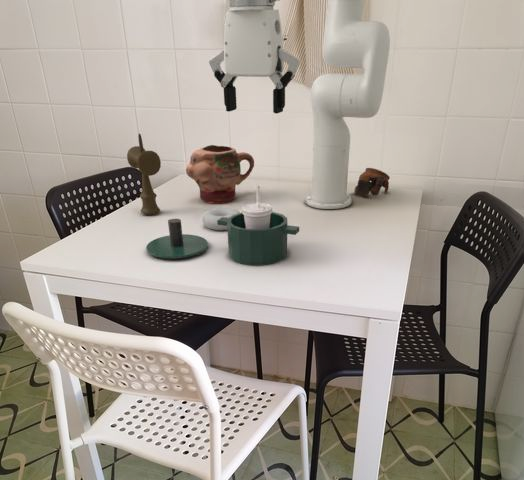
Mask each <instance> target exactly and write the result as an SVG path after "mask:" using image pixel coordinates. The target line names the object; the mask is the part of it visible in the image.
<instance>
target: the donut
mask: <svg viewBox="0 0 524 480" xmlns="http://www.w3.org/2000/svg"><path fill="white" fill-rule="evenodd" d="M239 213H241V211H240V210H237V209H236V208H232V207H216V208H211V209H209V210H207V211H206V212H204V214H203V216H202V219H201V220H202V223H203V225H204V227H206V228H207V229H210V230H214V231H227V226H223V225H217V220H219V219H220V218H222V217H225V218H230V217H231V216H233V215H236V214H239Z"/></svg>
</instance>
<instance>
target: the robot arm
mask: <svg viewBox="0 0 524 480" xmlns="http://www.w3.org/2000/svg"><path fill="white" fill-rule="evenodd" d="M277 1H279V2H280V1H281V0H228V3H229V10H226V14H225V22H224V31H223V34H224V35H223V50H222V51H220V52H219V53H218V54H216V55H214V56H213V57H212V58H211V59H210V60H208V63H209V66H210V69H211V70H212V72H213V76H214V77H215V79H216V80H217V81H218V83H219V84H220V87H221V88H223V102H224V104H223V105H224V106H225V111H226V112H233V111H236V110H237V107H238V106H237V88H236V85H234V83H235V81H236V80H237V79H238V77H245V78H246V77H251V78H255V77H258V78H259V77H260V78H264V77H269V79H270V80H271V82H272V83H273V84H274V86H275V88H274V89H273V90H272V112H273V113H274V114H280V113H282V112H283V111H284V108H285V107H286V88H287V87H288V85H289V84H290V83H291V81H292V80H293V79H294V78H295V76H296V75H295V74H296V72H297V71H298V68H299V66H300V64H301V63H300V61H301V60H300V59H298V58H297V57H296V56H294V55H292V54H290V52H288V51H287V50H284V40H283V32H282V31H283V30H282V23H281V16H280V11H279V9H274V8H275V5H276V2H277ZM326 2H327V3H326V15H325V22H324V32H323V40H322V60H323V62H324V63H325V65H326V66H328V67H331V68H339V69H340V68H341V69H364V70H363V71H364V73H341V72H340V73H337V72H336V73H335V72H333V73H331V72H330V73H325V74H321V75H319V76H318V77H317V78H316V79H315V80H314V81H313V83H312V86H311V89H310V102H311V108H312V119H313V141H312V143H313V145H312V174H311V194H310V195H307V196H306V197H305V203H306V205H307V206H309V207H312V208H315V209H320V210H321V209H322V210H339V209H343V208H347V207H349V206H350V205H351V204H352V201H353V200H352V199H353V198H352V197H350V195H348V194H347V191H348V178H349V177H348V176H349V163H350V149H351V148H350V147H351V132H350V128H349V126H348V125H347V122H346V121H345V119H344V118H357V119H358V118H359V119H360V118H361V119H370V118H373V117H374V116H376V115H377V114H378V112H379V110H380V108H381V105H382V99H383V94H384V88H385V80H386V74H387V68H388V63H389V62H388V61H389V57H390V56H389V54H390V45H391V38H390V37H391V36H390V31H389V28H388V26H387V25H386V24H385V23H384V22H382V21H378V20H363V13H364V4H365V0H327V1H326ZM222 62H223V63H224V70H225V72H224V71H223V70H222V66H221V64H222ZM285 63H286V64H287V65H288V67H287V70H286V72H285V73H284V74H283V71H284V67H285Z"/></svg>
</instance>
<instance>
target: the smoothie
mask: <svg viewBox="0 0 524 480" xmlns="http://www.w3.org/2000/svg"><path fill="white" fill-rule="evenodd" d="M255 188H256V202H253V203H248V204H245V205H243V206H242V207H241V213H242V214H243V215H244V220H245V226H246V229H266V228H269V226H270V217H271V213H272V212H274V211H273V206H272V205H271V204H269V203H263V202H260V186H259V185H258V186H256V187H255Z"/></svg>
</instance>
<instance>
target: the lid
mask: <svg viewBox="0 0 524 480" xmlns="http://www.w3.org/2000/svg"><path fill="white" fill-rule="evenodd" d="M167 226H168V234H169V235H163V236H161V237H157V238H155V239H152V240H151V241H149V242H148V243H147V245H146V246H145V249H146V253H148V254H149V255H151V256H153V257H155V258H159V259H169V260H170V259H172V260H173V259H175V260H176V259H184V258H185V259H186V258H189V257H194V256H196V255H197V256H198V255H199V254H201V253H203V252H204V251H206V250H207V248H208V247H209V243H208V240H207V239H206V238H204V237H202V236H200V235H196V234H189V233H185V234H184V233H183V228H182V220H181V219H180V218H170V219H168V220H167Z"/></svg>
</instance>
